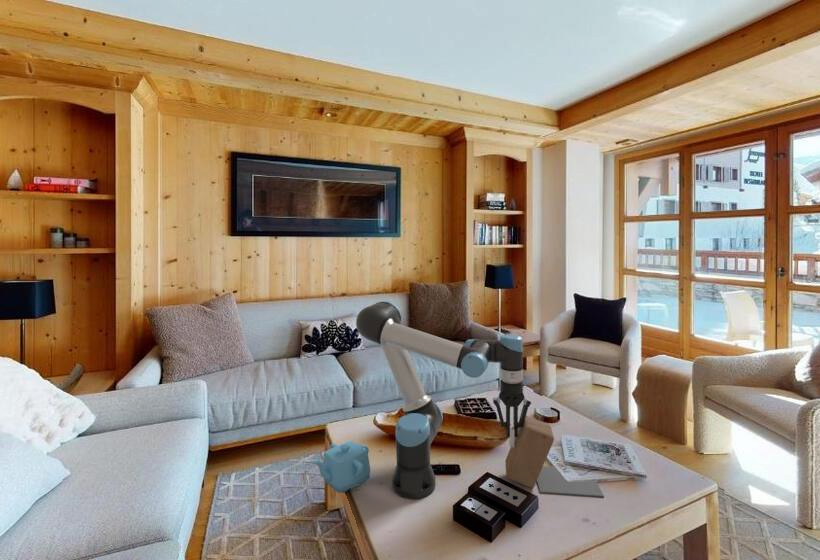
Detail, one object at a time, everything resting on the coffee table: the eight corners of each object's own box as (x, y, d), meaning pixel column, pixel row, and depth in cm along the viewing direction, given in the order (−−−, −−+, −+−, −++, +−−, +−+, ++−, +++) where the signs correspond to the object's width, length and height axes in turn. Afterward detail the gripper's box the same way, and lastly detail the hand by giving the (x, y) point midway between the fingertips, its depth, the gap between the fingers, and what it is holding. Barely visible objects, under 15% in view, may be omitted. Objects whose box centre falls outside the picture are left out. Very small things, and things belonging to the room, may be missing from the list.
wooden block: (533, 490, 131) (555, 438, 127) (505, 477, 132) (525, 426, 129) (531, 472, 140) (551, 424, 137) (504, 461, 142) (523, 413, 139)
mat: (540, 492, 129) (540, 491, 129) (532, 466, 144) (532, 465, 144) (603, 497, 126) (603, 495, 126) (589, 470, 141) (589, 468, 141)
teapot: (333, 466, 147) (332, 432, 146) (375, 469, 144) (374, 435, 143) (313, 497, 129) (311, 459, 128) (360, 502, 126) (358, 463, 125)
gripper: (492, 383, 130) (493, 450, 133) (533, 384, 128) (532, 452, 131) (491, 375, 138) (492, 439, 140) (529, 376, 136) (529, 440, 138)
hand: (511, 445), depth 135 cm, fingers closed
